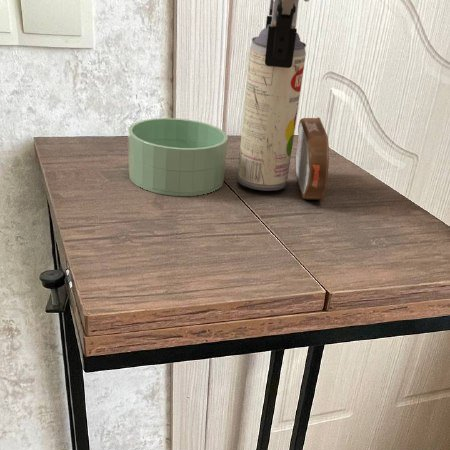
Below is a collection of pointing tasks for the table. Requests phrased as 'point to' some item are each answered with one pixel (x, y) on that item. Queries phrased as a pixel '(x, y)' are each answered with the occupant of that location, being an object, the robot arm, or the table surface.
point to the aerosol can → (269, 117)
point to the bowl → (176, 156)
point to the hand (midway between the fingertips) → (276, 58)
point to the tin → (312, 158)
